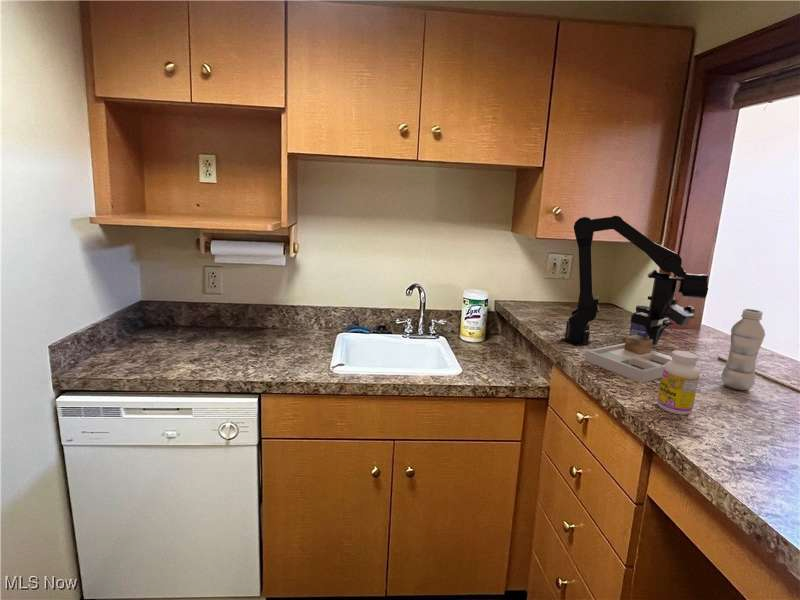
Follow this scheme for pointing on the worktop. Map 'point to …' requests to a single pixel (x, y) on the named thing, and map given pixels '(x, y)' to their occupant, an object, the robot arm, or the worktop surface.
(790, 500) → the worktop surface
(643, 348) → the walnut block
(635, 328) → the pill bottle
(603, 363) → the trap box
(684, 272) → the robot arm
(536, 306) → the worktop surface
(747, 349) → the plastic bottle
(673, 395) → the supplement bottle
